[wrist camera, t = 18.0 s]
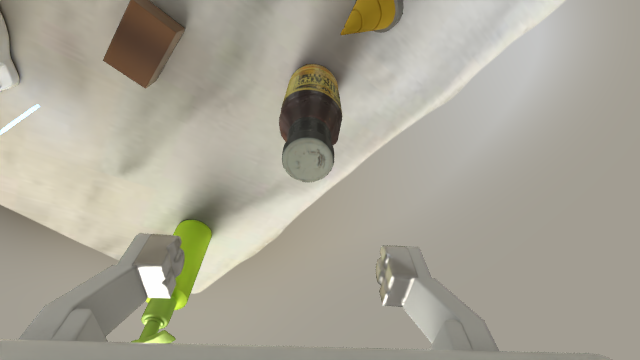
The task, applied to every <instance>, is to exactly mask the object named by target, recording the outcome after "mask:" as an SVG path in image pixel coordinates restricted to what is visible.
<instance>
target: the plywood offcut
mask: <svg viewBox="0 0 640 360" xmlns="http://www.w3.org/2000/svg"><path fill="white" fill-rule="evenodd" d="M184 30H185V28H184V27H183V26H181V25H180V24H179V23H177V22H176V21H175V20H173V19H172V18H171V17H170V16H168V15H167V14H166V13H164V12H163V11H162V10H161V9H159V8H158V7H157V6H155V5H154V4H153V3H151V2H150V1H149V0H130V2H129V4H128V7H127V9H126V11H125V13H124V15H123V17H122V20H121V22H120V24H119V26H118V28H117V31H116V33H115V35H114V37H113V39H112V42H111V44H110V46H109V48H108V50H107V52H106V55H105V57H104V59H103V61H104V62H106V63H107V64H109V65H111V66H112V67H114V68H115V69H117V70H118V71H120V72H121V73H123V74H124V75H126V76H127V77H129V78H130V79H132V80H133V81H135V82H136V83H138V84H139V85H141V86H142V87H144V88H147V87H148V86H150V85H151V84H153V83H154V82H155V81H156V80H157V78H158V76H159V75H160V73H161V71H162V69H163V68H164V66H165V64H166V62H167V60H168V59H169V57H170V55H171V53H172V52H173V50H174V48H175V46H176V45H177V43H178V41H179V39H180V37H181V36H182V34H183V32H184Z"/></svg>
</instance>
